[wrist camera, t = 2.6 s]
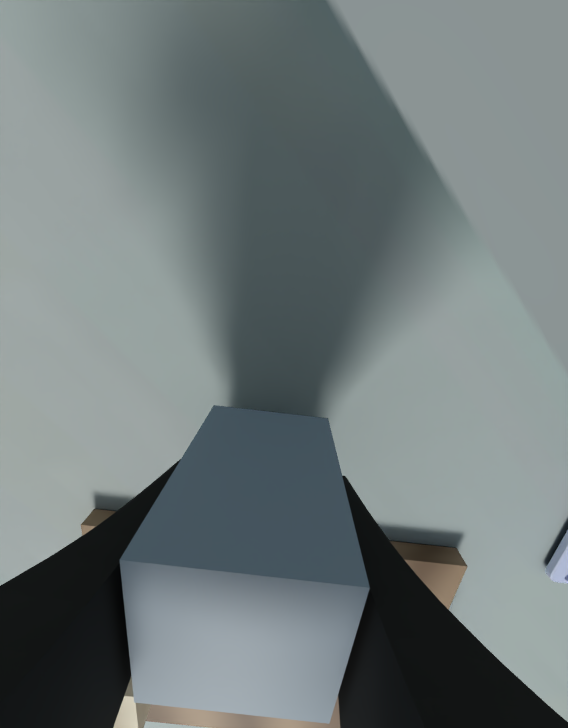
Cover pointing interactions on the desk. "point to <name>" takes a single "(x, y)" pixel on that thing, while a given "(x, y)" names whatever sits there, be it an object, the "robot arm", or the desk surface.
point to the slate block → (247, 573)
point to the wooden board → (443, 579)
